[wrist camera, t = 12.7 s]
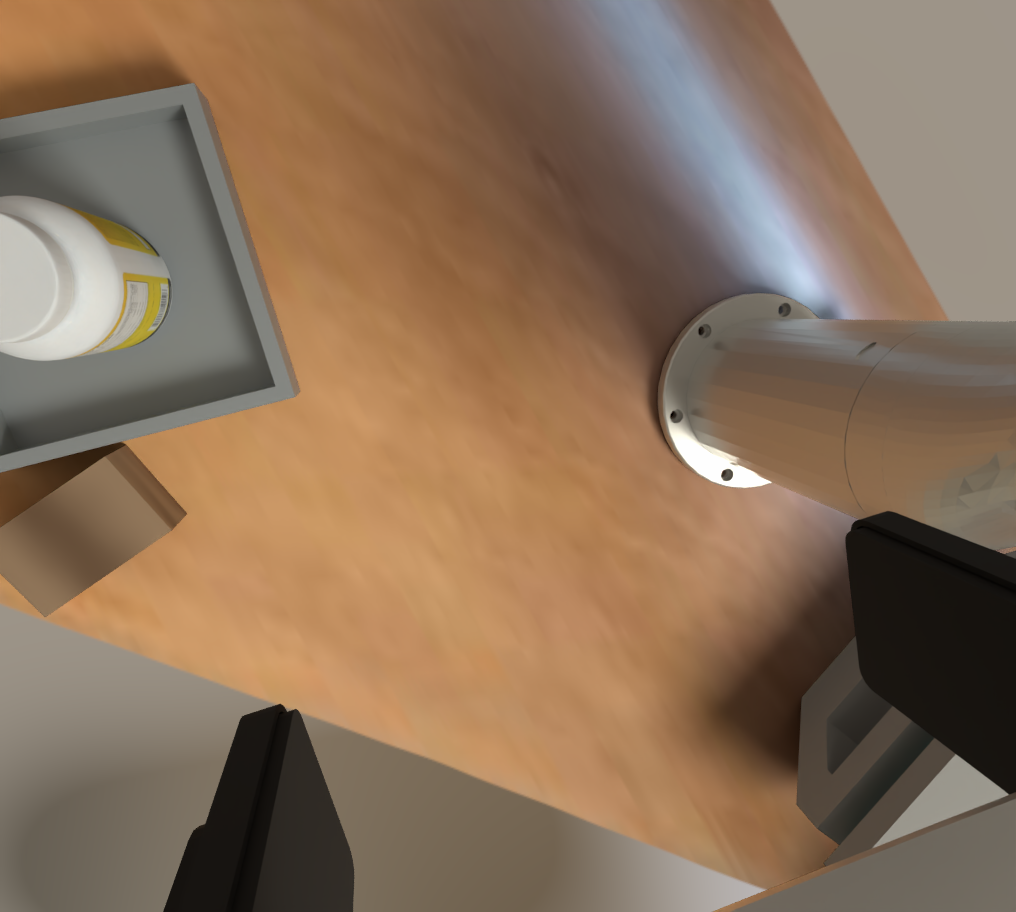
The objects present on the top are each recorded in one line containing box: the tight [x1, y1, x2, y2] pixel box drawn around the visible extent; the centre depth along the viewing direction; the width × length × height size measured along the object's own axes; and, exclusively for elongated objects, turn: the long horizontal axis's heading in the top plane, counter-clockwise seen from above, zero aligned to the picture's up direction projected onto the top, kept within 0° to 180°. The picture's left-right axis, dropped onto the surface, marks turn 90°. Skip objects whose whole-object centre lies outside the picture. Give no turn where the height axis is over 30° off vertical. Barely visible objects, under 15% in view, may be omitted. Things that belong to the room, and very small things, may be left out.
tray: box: [0, 83, 300, 473], centre depth 34 cm, size 16×16×3 cm
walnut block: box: [0, 445, 187, 617], centre depth 36 cm, size 8×5×3 cm, turn 123°
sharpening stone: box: [796, 551, 1016, 866], centre depth 45 cm, size 25×8×11 cm, turn 139°
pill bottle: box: [0, 196, 172, 361], centre depth 29 cm, size 6×6×12 cm
